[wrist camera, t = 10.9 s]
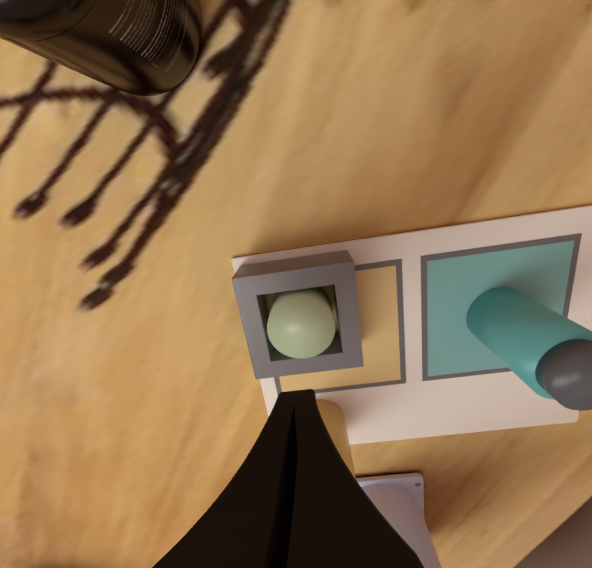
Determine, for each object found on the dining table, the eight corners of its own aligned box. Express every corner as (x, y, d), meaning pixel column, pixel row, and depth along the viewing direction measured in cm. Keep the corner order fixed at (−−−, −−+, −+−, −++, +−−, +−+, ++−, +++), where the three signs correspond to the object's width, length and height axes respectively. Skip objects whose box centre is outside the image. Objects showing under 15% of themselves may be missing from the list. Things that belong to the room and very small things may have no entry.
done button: (333, 328, 21) (338, 354, 18) (277, 335, 22) (273, 362, 19) (326, 275, 20) (331, 293, 17) (267, 283, 20) (260, 303, 17)
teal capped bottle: (523, 336, 21) (626, 413, 14) (464, 343, 21) (539, 420, 15) (530, 283, 20) (647, 340, 13) (467, 290, 20) (551, 350, 13)
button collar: (355, 341, 22) (363, 366, 19) (261, 353, 22) (255, 379, 20) (346, 248, 20) (354, 261, 17) (241, 264, 20) (231, 278, 17)
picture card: (573, 419, 24) (577, 422, 24) (277, 449, 26) (276, 452, 25) (618, 200, 18) (623, 201, 18) (232, 257, 20) (231, 259, 20)
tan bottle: (347, 435, 25) (364, 534, 18) (298, 440, 25) (297, 540, 18) (342, 396, 23) (358, 487, 17) (291, 402, 24) (287, 494, 17)
